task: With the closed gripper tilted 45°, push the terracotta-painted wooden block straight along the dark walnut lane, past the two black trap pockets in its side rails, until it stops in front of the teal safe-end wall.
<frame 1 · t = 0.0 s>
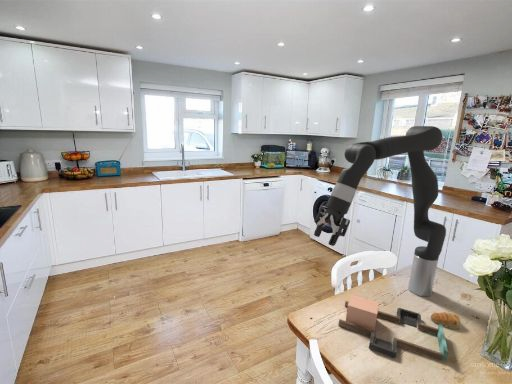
hand: (323, 240, 97), 31 cm above the table, tool tilted 20°, fingers open, 8 cm apart
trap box: (387, 329, 100), on the table
block: (360, 321, 104), on the table
pastry: (446, 323, 105), on the table
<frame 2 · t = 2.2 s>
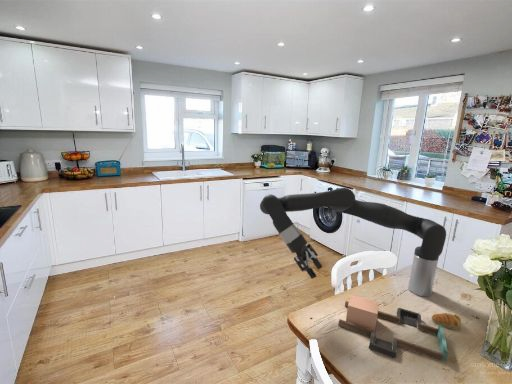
hand: (317, 272, 108), 15 cm above the table, tool tilted 45°, fingers open, 8 cm apart
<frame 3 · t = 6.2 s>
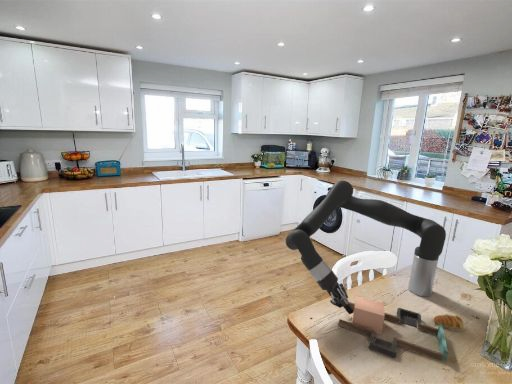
hand: (351, 312, 104), 3 cm above the table, tool tilted 45°, fingers closed
block: (366, 323, 103), on the table, touching gripper
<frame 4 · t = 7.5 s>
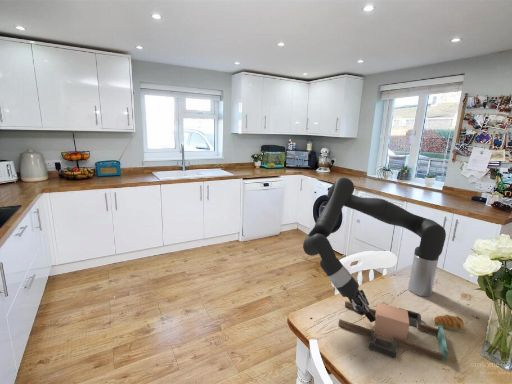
hand: (373, 320, 100), 3 cm above the table, tool tilted 45°, fingers closed
block: (389, 330, 99), on the table, touching gripper
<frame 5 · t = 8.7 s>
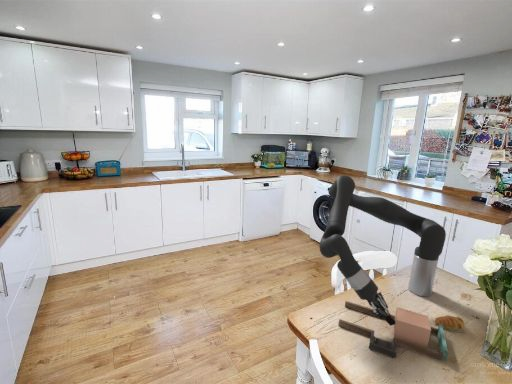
hand: (393, 323, 98), 3 cm above the table, tool tilted 45°, fingers closed
block: (409, 336, 97), on the table, touching gripper
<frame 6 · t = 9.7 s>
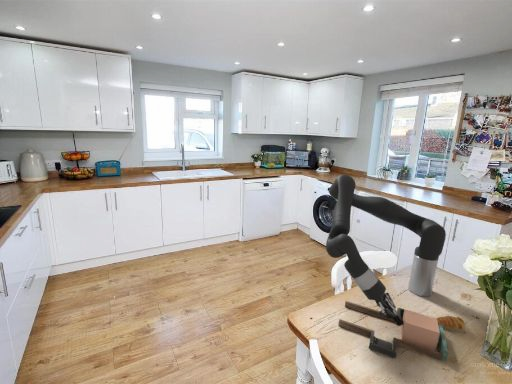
hand: (401, 324, 97), 4 cm above the table, tool tilted 45°, fingers closed
block: (417, 339, 96), on the table, touching gripper
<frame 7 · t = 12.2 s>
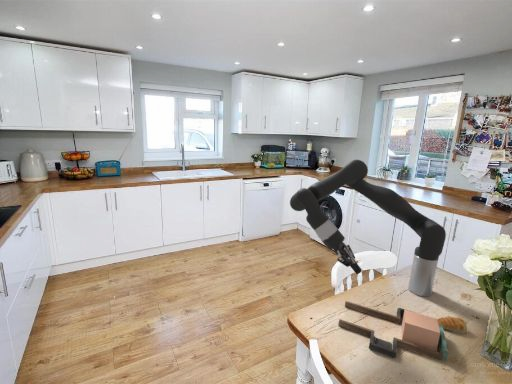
hand: (359, 272, 101), 19 cm above the table, tool tilted 45°, fingers closed
block: (417, 339, 96), on the table
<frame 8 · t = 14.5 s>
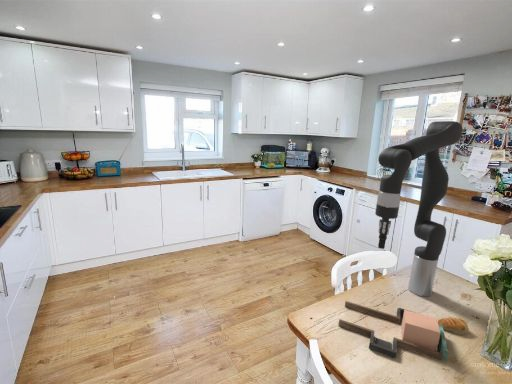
hand: (381, 247, 105), 27 cm above the table, tool pointing down, fingers closed
at the end: block 1.0 cm from the target spot, on the table; block tilted 0° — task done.
